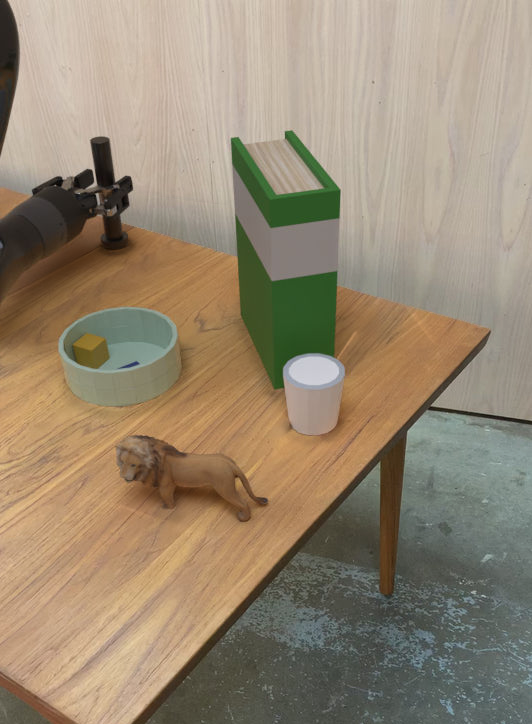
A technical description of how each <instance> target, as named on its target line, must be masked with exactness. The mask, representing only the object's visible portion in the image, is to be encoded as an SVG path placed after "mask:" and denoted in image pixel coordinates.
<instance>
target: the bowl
mask: <svg viewBox="0 0 532 724" xmlns="http://www.w3.org/2000/svg"><path fill="white" fill-rule="evenodd" d="M86 333H90V334H93V335H96V336H100V337H103V338H106V341H107V346H108V351H109V356H110V358H109V359H108V360H107V361H106V362H105V363H104V364H102V365H101V366H100V367H99V368H98V369H93V368H89V367H85V366H82V365H79V364H77V363H76V359H75V354H74V350H73V346H72V344H74V343H75V342H76V341H77V340H79V339H80V338H81V337H82V336H84V335H85V334H86ZM180 349H181V348H180V339H179V333H178V328H177V324H176V323H174V321H173V320H172V319H171V318H170V317H169V316H167V315H166V314H164V313H161V312H160V311H158V310H154V309H151V308H146V307H141V306H119V307H110V308H109V307H108V308H105V309H101V310H97V311H95V312H91V313H88V314H86V315H84V316H83V317H80V318H78V319H76V320H75V321H73V322H72V323H71V324H69V326H68V327H66V328H65V329H64V330H63V332H62V333H61V336H60V337H59V339H58V354H59V358H60V362H61V367H62V371H63V375H64V379H65V383H66V385H67V387H68V389H69V390H70V392H71V393H72V394H73V395H74V396H75V397H76V398H78V399H80V400H82V401H83V402H86V403H88V404H91V405H95V406H102V407H111V408H117V407H129V406H134V405H139V404H142V403H146V402H148V401H149V402H150V401H151V400H154V399H156V398H158V397H160V396H161V395H163V394H164V393H166V392H168V391H169V390H170V389H171V388H172V387H173V386H174V385H175V384H176V383H177V381H178V380H179V378H180V377H181V373H182V370H183V364H182V357H181V350H180ZM135 361H137V362H139V363H140V364H139V365H136V366H133V367H130V368H123V369H118V368H120V367H123V366H125V365H128V364H130V363H133V362H135Z"/></svg>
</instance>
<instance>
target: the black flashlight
mask: <svg viewBox="0 0 532 724" xmlns="http://www.w3.org/2000/svg"><path fill="white" fill-rule="evenodd" d="M89 145H90V149H91V155H92V162H93V168H94V174H95V182H96V186H99V185H101V186H102V187H107V186H110V185H113V184H114V183H115V182H117V180H116V176H115V175H116V174H115V168H114V160H113V153H112V147H111V140H110V137H108V136H101V135H100V136H94V137H92V138H91V139H89ZM97 194H98V195H99V193H97ZM111 196H112V192H110V193H108V194H107V199H109V198H110V197H111ZM98 200H99V201H100V199H99V198H98ZM101 219H102V225H103V231H104V232H103V233H101V234H100V237H99V238H100V244H101V247H103V248H104V249H107V250H120V249H123V248H124V249H125V248H126V247H127V246H128V245H129V244H130V237H129V234H128V232H127V231H124V230H123V224H122V217H121V214H120V215H119V216H118V217H117V218H116V219H115V220H114V221H106V216H105V215H101Z"/></svg>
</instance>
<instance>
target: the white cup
mask: <svg viewBox="0 0 532 724" xmlns="http://www.w3.org/2000/svg"><path fill="white" fill-rule="evenodd" d="M283 378H284V386H285V388H284V393H285V403H286V409H287V418H288V421H289V422H290V427H291V429H293V430H294V431H296V432H297V433H299V434H302V435H306V436H321V435H325V434H328V433H329V432H331V431H333V430H334V429H335V428H336V426H337V425H338V422H339V414H340V409H341V403H342V395H343V390H344V383H345V378H346V368H345V366H344V364H343V363H342V362H341V361H340V360H339V359H337V358H336V357H335V356H334V357H332V356H329V355H324V354H320V353H308V354H303V355H299V356H296V357H294V358H293V359H291V360H289V361H288V362H287V363H286V365H285V366H284V367H283Z"/></svg>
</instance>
